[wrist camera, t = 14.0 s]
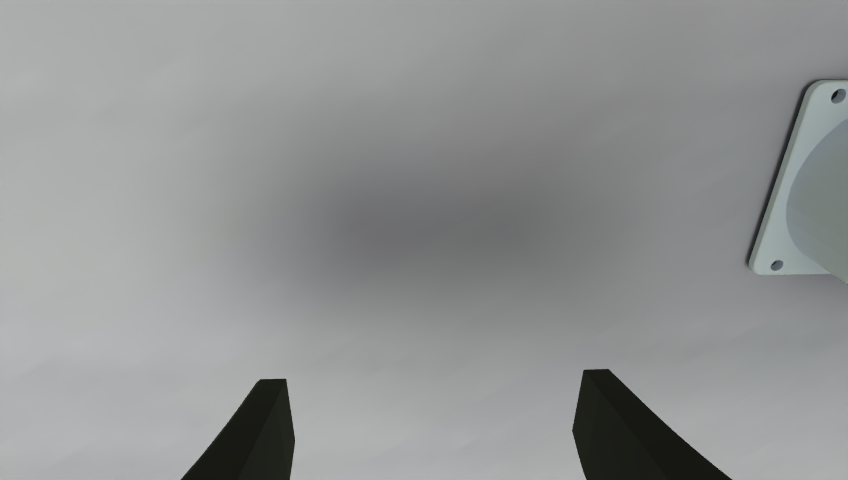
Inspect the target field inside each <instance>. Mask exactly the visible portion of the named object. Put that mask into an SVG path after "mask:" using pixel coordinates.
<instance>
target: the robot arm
mask: <svg viewBox="0 0 848 480" xmlns="http://www.w3.org/2000/svg"><path fill="white" fill-rule="evenodd" d="M836 90H838V94H837V96H836V97H835V98H834V99H833V100H831V96H832V95H833V93H834V92H835V91H836ZM775 261H777V262H776V263H775V264H774V265H772V263H773V262H775ZM771 265H772V266H771ZM749 268H750V269H751V270H752V271H753V272H754V273H755V274H757V275H803V274H833V275H834V276H836V277H837V278H839V279H840V280H842V281H843V282H844V283H846V284H847V285H848V80H821V81H817V82H815V83H814V84H812V85H811V86H810V87H809V88H808V90H807V92H806V93H805V96H804V99H803V102H802V105H801V108H800V111H799V114H798V117H797V120H796V123H795V126H794V129H793V132H792V135H791V138H790V141H789V144H788V147H787V150H786V153H785V156H784V159H783V162H782V165H781V168H780V171H779V174H778V177H777V180H776V183H775V186H774V189H773V192H772V195H771V198H770V201H769V204H768V207H767V210H766V213H765V215H764V218H763V221H762V224H761V227H760V230H759V233H758V236H757V239H756V242H755V245H754V248H753V251H752V254H751V257H750V260H749ZM572 432H573V435H574V439H575V443H576V447H577V451H578V455H579V458H580V462H581V465H582V468H583V472H584V474H585V477H586V479H587V480H732V479H731V478H729V477H728V476H727V475H725V474H724V473H723V472H722V471H720V470H719V469H718V468H716V467H715V466H714V465H713V464H712V463H710V462H709V461H708V460H707V459H706V458H704V457H703V456H702V455H701V454H700V453H698V452H697V451H696V450H695V449H693V448H692V447H691V446H690V445H689V444H688V443H687V442H685V441H684V440H683V439H682V438H681V437H680V436H679V435H677V434H676V433H675V432H674V431H673V430H672V429H671V428H670V427H669V426H667V425H666V424H665V423H664V422H663V421H662V420H661V419H660V418H659V417H658V416H657V415H656V414H654V413H653V412H652V411H651V410H650V409H649V408H648V407H647V406H646V405H645V404H644V403H643V402H642V401H641V400H640V399H639V398H638V397H637V396H636V395H635V394H634V393H633V392H632V391H631V390H629V389H628V388H627V387H626V386H625V385H624V384H623V383H622V382H621V381H620V380H619V379H618V378H617V377H616V376H615V375H614V374H613V373H612V372H611V371H610V370H609V369H595V370H584V371H583V376H582V382H581V387H580V392H579V397H578V403H577V408H576V413H575V419H574V424H573V429H572ZM294 445H295V436H294V430H293V423H292V416H291V409H290V402H289V396H288V389H287V382H286V379H260V380H259V381H258V382H257V383H256V384H255V386H254V387H253V388H252V390H251V391H250V393H249V394H248V396H247V397H246V398H245V400H244V401H243V403H242V404H241V405H240V407H239V408H238V410H237V411H236V412H235V414H234V415H233V416H232V418H231V419H230V420H229V422H228V423H227V424H226V426H225V427H224V428H223V429H222V431H221V432H220V433H219V434H218V436H217V437H216V438H215V440H214V441H213V442H212V443H211V445H210V446H209V447H208V448H207V450H206V451H205V452H204V453H203V455H202V456H201V457H200V458H199V459H198V460H197V462H196V463H195V464H194V465H193V466H192V467H191V468H190V470H189V471H188V472H187V473H186V474H185V475H184V476H183V478H182V479H181V480H290V474H291V467H292V460H293V453H294Z"/></svg>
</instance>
